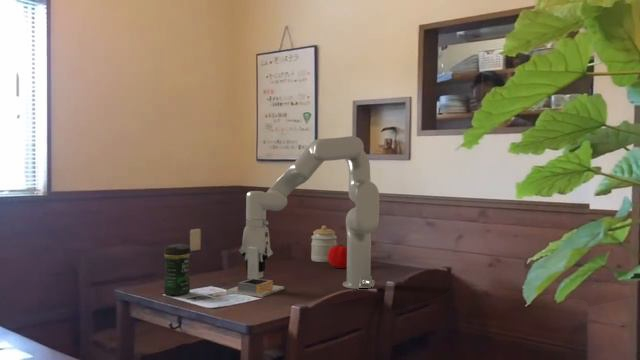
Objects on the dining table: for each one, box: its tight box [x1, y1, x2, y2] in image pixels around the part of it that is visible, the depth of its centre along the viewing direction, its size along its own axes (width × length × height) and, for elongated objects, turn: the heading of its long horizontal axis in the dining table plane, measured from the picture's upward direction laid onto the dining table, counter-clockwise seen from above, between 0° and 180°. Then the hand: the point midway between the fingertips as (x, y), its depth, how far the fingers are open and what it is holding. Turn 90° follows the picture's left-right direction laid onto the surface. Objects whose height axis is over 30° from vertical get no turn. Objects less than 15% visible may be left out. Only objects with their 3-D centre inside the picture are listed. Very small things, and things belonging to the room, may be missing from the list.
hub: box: [225, 278, 285, 298], centre depth 234 cm, size 16×16×4 cm
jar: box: [310, 225, 338, 263], centre depth 306 cm, size 13×13×18 cm
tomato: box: [328, 244, 347, 269], centre depth 286 cm, size 12×12×11 cm
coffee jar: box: [163, 243, 191, 296], centre depth 228 cm, size 10×8×19 cm
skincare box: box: [247, 247, 264, 280], centre depth 234 cm, size 6×4×12 cm
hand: (255, 270), depth 234 cm, fingers closed on skincare box, 4 cm apart
